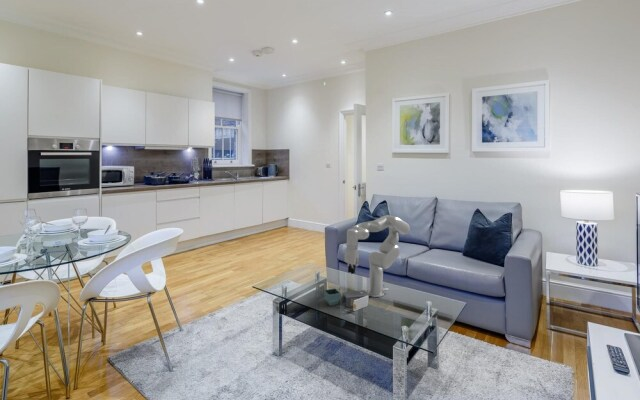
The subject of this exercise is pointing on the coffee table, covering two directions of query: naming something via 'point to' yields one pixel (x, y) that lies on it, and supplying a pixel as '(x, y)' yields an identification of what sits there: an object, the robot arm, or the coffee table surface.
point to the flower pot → (332, 296)
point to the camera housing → (352, 297)
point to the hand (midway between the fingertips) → (351, 272)
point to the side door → (360, 303)
